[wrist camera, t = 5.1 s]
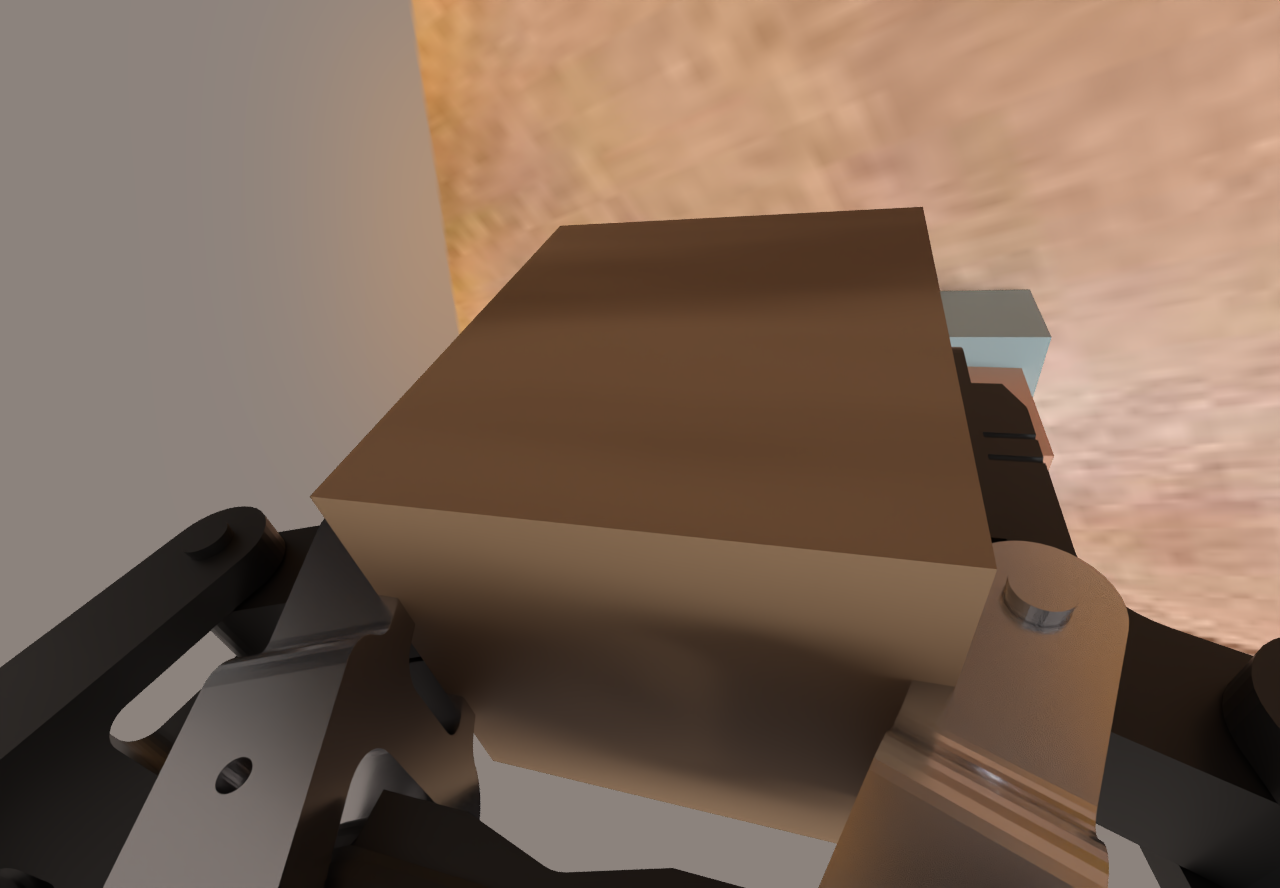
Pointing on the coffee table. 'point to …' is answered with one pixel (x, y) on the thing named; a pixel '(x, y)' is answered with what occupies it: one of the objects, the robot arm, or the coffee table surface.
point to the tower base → (998, 330)
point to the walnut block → (688, 509)
